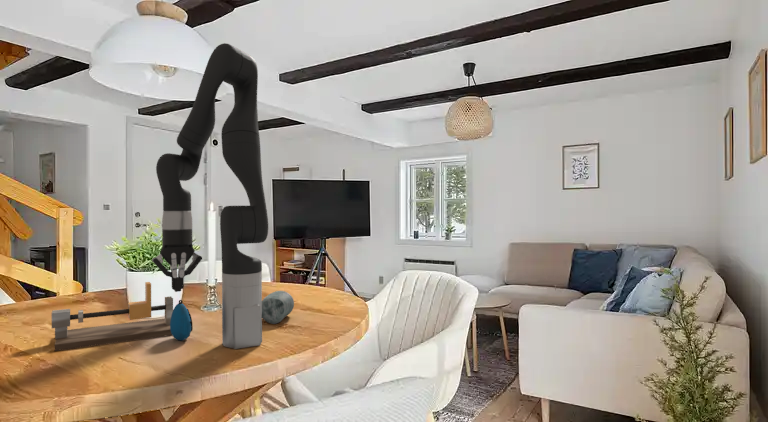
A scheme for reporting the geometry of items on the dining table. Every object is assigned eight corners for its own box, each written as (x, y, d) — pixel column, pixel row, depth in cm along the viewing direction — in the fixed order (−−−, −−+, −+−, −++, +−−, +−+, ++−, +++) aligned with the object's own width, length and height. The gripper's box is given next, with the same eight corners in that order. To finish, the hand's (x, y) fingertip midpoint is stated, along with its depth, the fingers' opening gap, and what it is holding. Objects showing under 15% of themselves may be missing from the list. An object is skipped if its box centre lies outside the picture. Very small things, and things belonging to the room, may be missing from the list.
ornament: (196, 341, 114) (196, 301, 114) (177, 345, 111) (176, 303, 111) (185, 334, 121) (185, 296, 121) (166, 338, 118) (166, 298, 117)
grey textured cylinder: (288, 315, 128) (275, 282, 131) (257, 330, 129) (246, 297, 132) (306, 316, 141) (294, 286, 144) (278, 329, 142) (267, 299, 145)
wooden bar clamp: (177, 334, 121) (177, 301, 121) (50, 351, 107) (50, 314, 107) (169, 323, 133) (169, 293, 133) (53, 337, 118) (53, 303, 118)
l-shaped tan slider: (151, 317, 122) (151, 283, 122) (129, 319, 120) (129, 285, 120) (149, 314, 126) (149, 281, 125) (128, 316, 123) (128, 283, 123)
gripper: (151, 228, 121) (152, 295, 121) (205, 227, 128) (206, 290, 128) (148, 227, 127) (149, 291, 127) (200, 226, 134) (200, 286, 134)
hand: (177, 291), depth 128 cm, fingers closed
